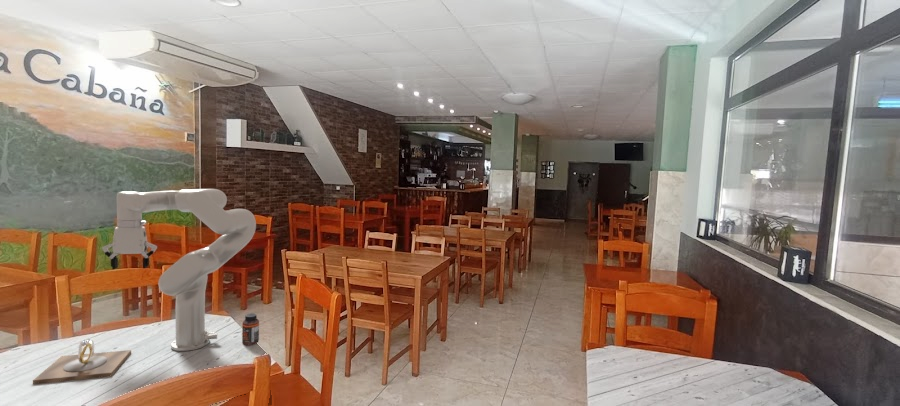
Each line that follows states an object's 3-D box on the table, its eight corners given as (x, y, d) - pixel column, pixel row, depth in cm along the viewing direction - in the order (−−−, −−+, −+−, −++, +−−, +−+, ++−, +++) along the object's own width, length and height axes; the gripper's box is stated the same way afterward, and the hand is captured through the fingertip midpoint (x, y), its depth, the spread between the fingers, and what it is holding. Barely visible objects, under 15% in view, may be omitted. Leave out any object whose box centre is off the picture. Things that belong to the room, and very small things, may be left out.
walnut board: (131, 353, 152) (131, 349, 152) (111, 376, 136) (111, 371, 136) (61, 359, 145) (61, 355, 145) (32, 384, 129) (32, 379, 129)
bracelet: (85, 367, 138) (84, 344, 137) (73, 368, 137) (73, 344, 136) (98, 358, 144) (98, 335, 144) (88, 358, 144) (87, 335, 143)
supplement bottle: (238, 343, 164) (238, 315, 163) (251, 338, 170) (251, 311, 169) (250, 347, 162) (250, 318, 161) (262, 341, 168) (262, 313, 167)
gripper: (159, 222, 166) (159, 265, 167) (106, 222, 160) (107, 266, 162) (153, 225, 159) (153, 269, 160) (97, 225, 153) (98, 271, 154)
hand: (130, 268), depth 161 cm, fingers open, 9 cm apart
